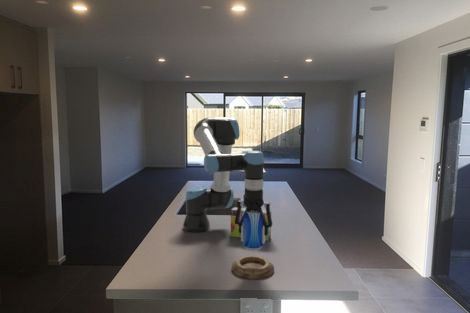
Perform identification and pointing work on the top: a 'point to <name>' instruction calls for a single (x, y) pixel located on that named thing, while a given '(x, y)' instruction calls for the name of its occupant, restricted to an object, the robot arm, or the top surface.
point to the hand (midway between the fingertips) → (253, 241)
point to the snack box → (235, 226)
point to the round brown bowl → (252, 267)
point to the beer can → (252, 230)
